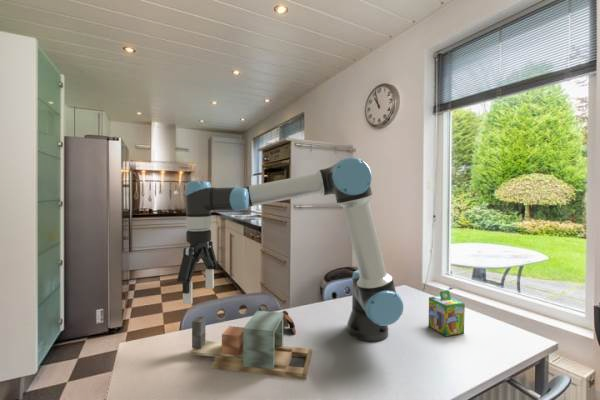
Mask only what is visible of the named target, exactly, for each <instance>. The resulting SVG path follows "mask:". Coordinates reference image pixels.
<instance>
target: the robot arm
mask: <svg viewBox="0 0 600 400" xmlns="http://www.w3.org/2000/svg"><path fill="white" fill-rule="evenodd" d="M372 173H373V172H372V170H371V168H370V166H369V165H368V164H367V163H366V162H365V161H364V160H363V159H361V158H358V157H347V158H343V159H340V160H338V162H337V163H336V164H334V165H332V166H330V167H326V168H323V169H318V170H317V171H316V172H315V173H311V174H306V175H300V176H296V177H291V178H285V179H278V180H274V181H269V182H265V183H264V182H263V183H258V184H253V185H249V186H242V187H239V186H235V187H234V186H233V187H213V186H212V184H211V182H210V181H207V180H206V181H205V180H202V181H201V180H200V181H198V180H195V181H194V180H191V181H188V182H187V183H186V187H185V195H184V196H185V209H186V210H185V211H186V212H185V213H186V214H185V216H186V218H185V222H186V225H185V227H186V229H187V231H186V233H185V235H186V237H185V239H186V243H189V247H184V248H183V250H182V252H183V254H182V259H181V264H180V266H179V271H178V275H177V280H176V281H177V282H178V283H182V304H188V305H192V304H194V303H193V295H194V294H193V281H192V278H193V275H194V272H195V271H196V270H195V269H196V267H197V264H198V262H200V261H201V260H202V262H203V264H204V267H206V268H205V271H204V272H205V276H204V277H205V289H209V290H210V289H212V290H213V289H214V288H215V282H214V281H215V280H214V279H215V274H214V273H215V270H217V268H218V267H217V265H218V262H217V258H216V254H215V250H214V246H213V241H212V230H211V228H212V212H216V211H217V212H218V211H219V212H221V211H223V212H240V211H243V212H244V211H246V210H248V209H249V207H250V208H251V207H255V206H261V205H266V204H270V203H275V202H280V201H287V200H291V199H296V198H302V197H307V196H313V195H314V196H315V195H321V196H328V195H334V196H335V200H336V203H337V205H338V206H341V207H342V208H343V209H342V210H343V213H344V217H345V220H346V221H345V222H346V225H347V230H348V233H349V234H348V235H349V236H350V237H349V238H350V241H351V247H352V250H353V253H354V258H355V262H356V266H357V270H355V271H353V273H352V278H351V280H352V281H351V282H352V286H351V289H352V290H351V291H352V294H351V296H352V297H351V298H352V299H351V303H352V304H351V305H352V306H351V308H352V309H351V311H350V315H349V318H348V321H347V322H346V323H347V327H346V328H347V329H346V330H347V333H348V334H349V335H350V336H352V337H353V338H356V339H358V340H362V341H366V342H380V341H382V340H383V341H384V340H386V339H387V338H388V336H389V326H390V325H393V324H395V323H396V322H397V321H399V319H400V318H401V316H402V315H403V313H404V302H403V300H402V298H401V296H400V294H398V293H397V290H396V287H395V282H394V278H393V275H391V274H389V273H388V272H387V271H386V267H385V262H384V258H383V254H382V250H381V246H380V240H379V237H378V234H377V233H378V232H377V229H376V225H375V221H374V217H373V212H372V209H371V208H372V207H371V204H370V201H371V199H372V197H373V192H372V186H371V183H372V180H373V175H372Z"/></svg>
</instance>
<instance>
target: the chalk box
mask: <svg viewBox="0 0 600 400" xmlns="http://www.w3.org/2000/svg"><path fill="white" fill-rule="evenodd" d="M444 294H446V295H444ZM465 305H466V304H465V303H464V302H462V301H460V300H458V299H456V298H453V297H451V293H450V290H440V291H439V295H438V296H430V297H428V325H427V326H428V327H430V328H431V329H433V330H434V331H437V332H438V333H440V334H442V335H443V336H445V337H448V336H453V335H461V334H465V312H466V311H465Z"/></svg>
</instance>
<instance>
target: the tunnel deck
mask: <svg viewBox="0 0 600 400" xmlns="http://www.w3.org/2000/svg"><path fill="white" fill-rule="evenodd" d="M280 312H281V311H280ZM280 312H278V311H265V310H256V311H255V313H254V314H253V316H252V317H251V318H250V319H249V320H248V321H247V323H246V324H245V325H244V326H243V327H244V328H243V358H235V357H226V356H216V357H214V361H213V362H212V369H217V370H224V371H233V372H239V373H240V372H241V373H249V374H250V373H251V374H256V375H259V374H260V375H265V376H275V377H284V378H292V379H293V378H294V379H301V380H306V379H307V375H308V372H309V368H310V362H311V359H312V354H313V353H312V352H313V351H312V350H313V349H312V348H307V347H296V346H286V345H285V346H284V327H283V313H280Z"/></svg>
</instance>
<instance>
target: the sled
mask: <svg viewBox="0 0 600 400" xmlns="http://www.w3.org/2000/svg"><path fill="white" fill-rule="evenodd" d="M244 327H245V326H243V327H242V326H234V325H233V326H231V325H229V326H228V327H227V328H226V329H225V330H224V331H223V333H221V341H210V340H206V317H199V316H198V317H195V318H194V319H193V320H192V321H191V350H190V351H189V353H190V355H195V356H204V357H214V358H215V357H216V356H226V357H235V358H243V328H244Z"/></svg>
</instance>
